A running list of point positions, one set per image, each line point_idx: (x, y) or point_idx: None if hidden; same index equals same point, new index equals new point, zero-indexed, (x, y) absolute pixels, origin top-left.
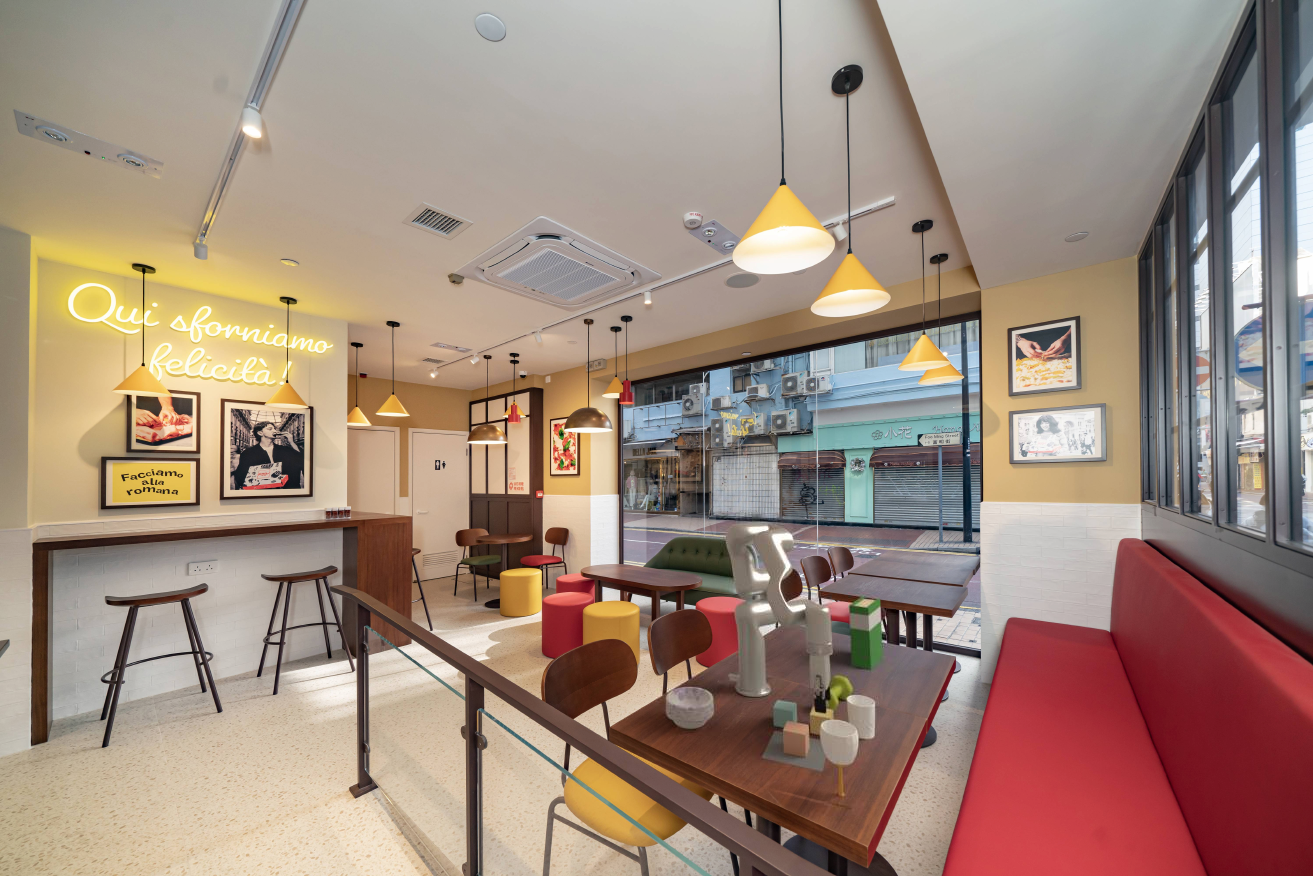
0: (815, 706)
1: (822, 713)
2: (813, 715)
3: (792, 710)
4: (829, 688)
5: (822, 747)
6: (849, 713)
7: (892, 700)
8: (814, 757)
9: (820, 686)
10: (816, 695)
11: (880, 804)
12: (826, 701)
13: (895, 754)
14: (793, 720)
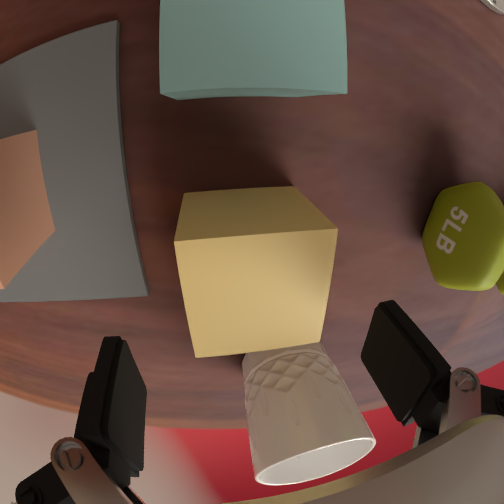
0: (98, 371)
1: (243, 310)
2: (178, 267)
3: (180, 84)
4: (401, 416)
5: (85, 278)
6: (274, 411)
7: (470, 343)
8: None
9: (430, 380)
10: (29, 484)
11: (9, 392)
12: (451, 247)
13: (207, 419)
14: (183, 96)
